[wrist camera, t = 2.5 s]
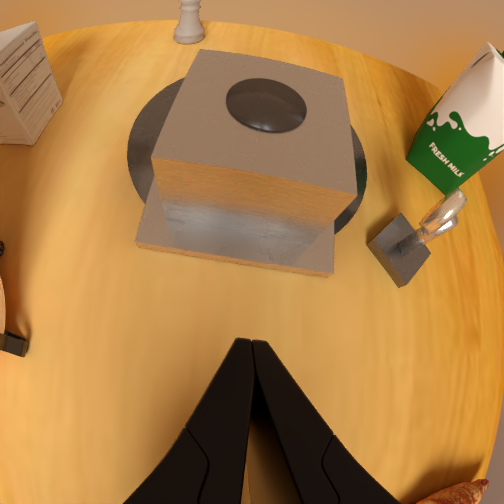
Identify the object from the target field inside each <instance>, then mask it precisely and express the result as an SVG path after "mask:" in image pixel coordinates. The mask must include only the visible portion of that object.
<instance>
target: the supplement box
mask: <svg viewBox="0 0 504 504" xmlns="http://www.w3.org/2000/svg"><path fill="white" fill-rule="evenodd" d="M62 103H63V99H62V96H61V94H60V91H59V88H58V86H57V83H56V80H55V78H54V75H53V72H52V69H51V66H50V64H49V61H48V58H47V55H46V51H45V49H44V45H43V42H42V39H41V35H40V32H39V28H38V25H37V21H33V22H30V23H26V24H23V25H20V26H17V27H14V28H11V29H8V30H5V31H2V32H0V144H24V145H34V144H35V142H36V141H37V139H38V138H39V136H40V135H41V133H42V132H43V130H44V128H45V127H46V125H47V124H48V123H49V121H50V120H51V118H52V117H53V115H54V114H55V112H56V111H57V110H58V108H59V107H60V105H61V104H62Z"/></svg>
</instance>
